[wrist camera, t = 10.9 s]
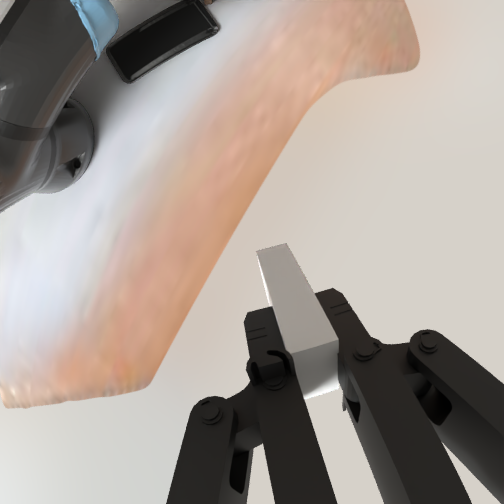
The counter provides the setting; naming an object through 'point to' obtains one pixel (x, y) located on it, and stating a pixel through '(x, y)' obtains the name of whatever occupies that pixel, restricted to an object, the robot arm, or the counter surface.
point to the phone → (160, 39)
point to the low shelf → (207, 2)
